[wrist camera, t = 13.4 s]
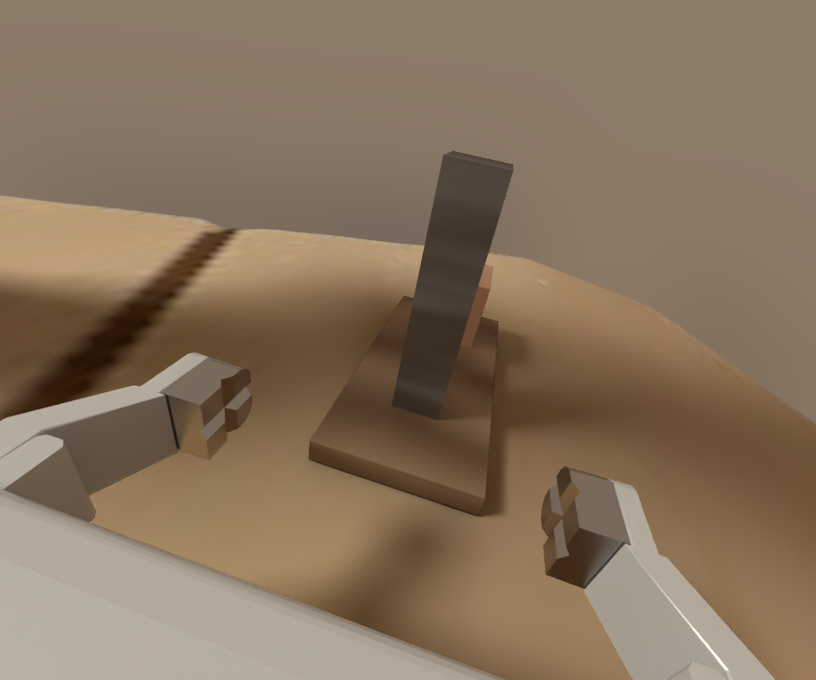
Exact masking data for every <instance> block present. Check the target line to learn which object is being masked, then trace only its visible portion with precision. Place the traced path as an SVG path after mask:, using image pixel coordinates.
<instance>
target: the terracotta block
mask: <svg viewBox="0 0 816 680" xmlns="http://www.w3.org/2000/svg"><path fill="white" fill-rule="evenodd" d="M492 273H493V267H492V266H488V265H485V266H484V269H483V272H482V276H481V279H480V282H479V285H478V289H477V292H476V295H475V299H474V302H473V305H472V308H471V312H470V315H469V318H468V322H467V325H466V328H465V332H464V335H463V338H462V341H461V345H462V346H466V347H469V348H471V347H472V344H473V341H474V338H475V335H476V332H477V328H478V325H479V322H480V319H481V316H482V313H483V310H484V307H485V304H486V301H487V298H488V294H489V291H490V287H491V280H492Z"/></svg>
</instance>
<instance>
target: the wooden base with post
mask: <svg viewBox="0 0 816 680" xmlns="http://www.w3.org/2000/svg"><path fill="white" fill-rule="evenodd" d="M512 173H513V164H508V163H504V162H499V161H495V160H491V159H486V158H482V157H477V156H473V155H468V154H464V153H459V152H455V151H452V152H450V153H447V154H444V155H443V160H442V164H441V169H440V174H439V179H438V183H437V188H436V193H435V198H434V203H433V208H432V213H431V217H430V222H429V227H428V232H427V237H426V242H425V246H424V251H423V256H422V261H421V266H420V271H419V275H418V280H417V285H416V290H415V295H414V298H410V297H407V296H404V297H403V298H402V300H401V301H400V303H399V304H398V306H397V307H396V309H395V310H394V312H393V313H392V315H391V317H390V318H389V320H388V321H387V323H386V324H385V326H384V327H383V329H382V330H381V332H380V334H379V335H378V337H377V338H376V340H375V341H374V343H373V344H372V346H371V347H370V349H369V350H368V352H367V354H366V355H365V357H364V358H363V360H362V361H361V363H360V364H359V366H358V367H357V369H356V371H355V372H354V374H353V375H352V377H351V378H350V380H349V381H348V383H347V384H346V386H345V387H344V389H343V391H342V392H341V394H340V395H339V397H338V398H337V400H336V401H335V403H334V404H333V406H332V408H331V409H330V411H329V412H328V414H327V415H326V417H325V418H324V420H323V421H322V423H321V424H320V426H319V428H318V429H317V431H316V432H315V434H314V435H313V437H312V438H311V440H310V446H309V459H311V460H314V461H317V462H320V463H323V464H325V465H328V466H331V467H334V468H337V469H340V470H343V471H346V472H349V473H352V474H355V475H358V476H361V477H364V478H367V479H370V480H373V481H376V482H379V483H382V484H385V485H388V486H391V487H394V488H397V489H400V490H403V491H406V492H409V493H412V494H415V495H418V496H421V497H424V498H427V499H430V500H433V501H436V502H439V503H442V504H445V505H448V506H451V507H454V508H457V509H460V510H463V511H466V512H469V513H472V514H475V515H478V513H479V511H480V509H481V507H482V505H483V503H484V500H485V496H486V482H487V469H488V455H489V442H490V428H491V415H492V401H493V388H494V374H495V361H496V348H497V334H498V321H495V320H491V319H487V318H484V317H481V319H480V322H479V325H478V328H477V332H476V335H475V338H474V341H473V344H472V347H471V348H469V347H466V346H462V345H461V341H462V338H463V335H464V332H465V328H466V325H467V322H468V318H469V315H470V312H471V308H472V305H473V302H474V299H475V295H476V292H477V289H478V285H479V282H480V279H481V276H482V272H483V269H484V266H485V262H486V259H487V256H488V252H489V249H490V246H491V243H492V239H493V236H494V233H495V229H496V226H497V223H498V219H499V216H500V213H501V210H502V206H503V203H504V200H505V196H506V193H507V190H508V186H509V183H510V180H511V177H512Z"/></svg>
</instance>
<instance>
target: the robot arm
mask: <svg viewBox="0 0 816 680" xmlns="http://www.w3.org/2000/svg"><path fill="white" fill-rule="evenodd" d="M250 382H251V379H250V371H248V370H247V369H245V368H242V367H239V366H236V365H233V364H230V363H227V362H224V361H221V360H218V359H215V358H211V357H208V356H205V355H202V354H199V353H196V352H194V353H188V354H187V355H186V356H184V357H183V358H181V359H180V360H178V361H177V362H175V363H174V364H172V365H171V366H170V367H168V368H167V369H165V370H164V371H162V372H161V373H159V374H158V375H156V376H155V377H154V378H152V379H151V380H149V381H148V382H146V383H145V384H143V385H142V386H140V387H139V386H136V385H133V386H129V387H125V388H121V389H117V390H113V391H109V392H105V393H102V394H98V395H94V396H90V397H86V398H82V399H78V400H74V401H70V402H66V403H62V404H59V405H55V406H51V407H47V408H43V409H39V410H35V411H31V412H27V413H23V414H19V415H15V416H12V417H8V418H5V419H3V420H2V421H0V680H506V679H503V678H501V677H498V676H496V675H493V674H490V673H488V672H485V671H482V670H480V669H477V668H474V667H472V666H469V665H466V664H464V663H461V662H458V661H456V660H453V659H451V658H448V657H445V656H443V655H440V654H437V653H435V652H432V651H429V650H427V649H424V648H421V647H419V646H416V645H413V644H411V643H408V642H406V641H403V640H400V639H398V638H395V637H392V636H390V635H387V634H384V633H382V632H379V631H376V630H374V629H371V628H368V627H366V626H363V625H361V624H358V623H355V622H353V621H350V620H347V619H345V618H342V617H339V616H337V615H334V614H331V613H329V612H326V611H323V610H321V609H318V608H316V607H313V606H310V605H308V604H305V603H302V602H300V601H297V600H294V599H292V598H289V597H286V596H284V595H281V594H278V593H276V592H273V591H271V590H268V589H265V588H263V587H260V586H257V585H255V584H252V583H249V582H247V581H244V580H241V579H239V578H236V577H233V576H231V575H228V574H226V573H223V572H220V571H218V570H215V569H212V568H210V567H207V566H204V565H202V564H199V563H196V562H194V561H191V560H188V559H186V558H183V557H180V556H178V555H175V554H172V553H170V552H167V551H165V550H162V549H159V548H157V547H154V546H151V545H149V544H146V543H143V542H141V541H138V540H135V539H133V538H130V537H127V536H125V535H122V534H119V533H117V532H114V531H111V530H109V529H106V528H103V527H101V526H98V525H96V524H93V523H90V522H91V521H92V520H93V519H94V518H95V514H96V510H95V508H94V506H93V504H92V502H91V499H90V497H89V495H91V494H93V493H95V492H97V491H99V490H101V489H103V488H105V487H108V486H110V485H112V484H114V483H116V482H118V481H120V480H122V479H124V478H126V477H128V476H130V475H132V474H134V473H136V472H138V471H140V470H142V469H144V468H146V467H148V466H151V465H153V464H155V463H157V462H159V461H161V460H163V459H165V458H167V457H169V456H171V455H173V454H175V453H177V452H178V450H179V451H182V452H185V453H188V454H192V455H195V456H198V457H201V458H205V459H208V460H210V459H211V457H212V456H213V455H214V454H215V453H216V452H217V451H218V450H219V449H220V448H221V447H222V446H223V444H224V443H225V442H226V441H227V433H228V432H230V431H233V430H235V429H238V428H239V427H240V426H241V425H242V423H243V422H244V421H245V420H246V418H247V416H248V414H249V412H250V409H251V404H252V395H251V393H250V392H249V390H248V389H247V387H246V386H247V385H248V384H249V383H250ZM557 483H558V485H557V486H554V487H552V488H549V490H548V492H547V494H546V496H545V498H544V502H543V506H542V513H541V522H542V529H543V530H544V532H545V533H546V535H547V536H548V539H547V541H546V542H545V544H544V545H543V549H544V561H545V573H546V575H548V576H551V577H553V578H556V579H559V580H562V581H564V582H567V583H570V584H572V585H575V586H578V587H580V588H583V589H585V590H584V592H585V594H586V596H587V598H588V600H589V601H590V603H591V605H592V607H593V609H594V611H595V612H596V614H597V616H598V618H599V620H600V621H601V623H602V625H603V627H604V629H605V630H606V632H607V634H608V636H609V638H610V640H611V641H612V643H613V645H614V647H615V649H616V650H617V652H618V654H619V656H620V658H621V659H622V661H623V663H624V665H625V667H626V669H627V670H628V672H629V674H630V676H631V678H632V679H633V680H775V679H774V678H773V677H772V675H771V674H770V673H769V672H768V671H767V670H766V669H765V668H764V666H763V665H762V664H761V663H760V662H759V661H758V660H757V659H756V657H755V656H754V655H753V654H752V653H751V652H750V651H749V650H748V648H747V647H746V646H745V645H744V644H743V643H742V642H741V641H740V639H739V638H738V637H737V636H736V635H735V634H734V633H733V632H732V630H731V629H730V628H729V627H728V626H727V625H726V624H725V623H724V621H723V620H722V619H721V618H720V617H719V616H718V615H717V614H716V612H715V611H714V610H713V609H712V608H711V607H710V606H709V605H708V603H707V602H706V601H705V600H704V599H703V598H702V597H701V596H700V594H699V593H698V592H697V591H696V590H695V589H694V588H693V587H692V585H691V584H690V583H689V582H688V581H687V580H686V579H685V578H684V576H683V575H682V574H681V573H680V572H679V571H678V570H677V569H676V567H675V566H674V565H673V564H672V563H671V562H670V561H669V560H668V558H667V557H664V556H661V555H659V553H658V550H657V547H656V545H655V542H654V539H653V536H652V533H651V531H650V528H649V525H648V522H647V519H646V516H645V514H644V511H643V508H642V505H641V502H640V500H639V497H638V494H637V491H636V490H635V488H634V487H633V486H631V485H628V484H624V483H621V482H617V481H614V480H610V479H606V478H603V477H600V476H596V475H593V474H590V473H586V472H583V471H579V470H576V469H573V468H569V467H566V466H565V467H564V468H562V469H561V470H560V472H559V473H558V475H557Z"/></svg>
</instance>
